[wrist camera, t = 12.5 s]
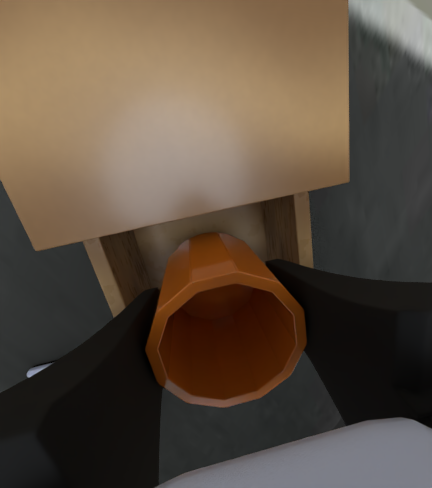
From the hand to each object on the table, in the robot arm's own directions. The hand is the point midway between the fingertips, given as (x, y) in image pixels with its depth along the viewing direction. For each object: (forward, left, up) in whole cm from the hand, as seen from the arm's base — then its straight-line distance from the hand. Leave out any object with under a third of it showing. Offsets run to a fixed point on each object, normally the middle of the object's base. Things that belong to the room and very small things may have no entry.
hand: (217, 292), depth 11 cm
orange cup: (0, 0, -1) cm, 1 cm away
